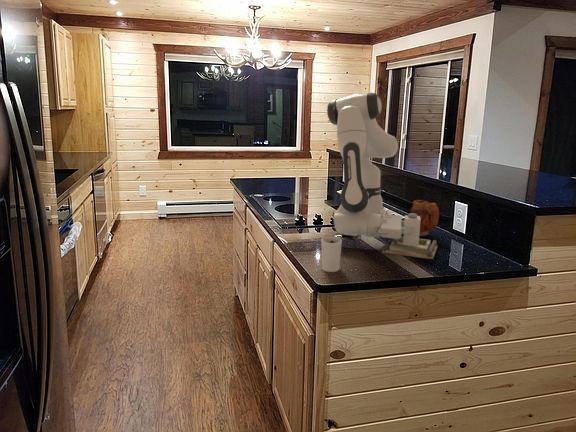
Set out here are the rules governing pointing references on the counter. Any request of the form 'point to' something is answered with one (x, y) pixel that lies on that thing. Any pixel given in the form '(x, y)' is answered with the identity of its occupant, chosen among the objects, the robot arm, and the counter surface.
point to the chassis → (411, 248)
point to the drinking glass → (331, 253)
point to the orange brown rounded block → (426, 215)
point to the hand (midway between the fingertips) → (414, 228)
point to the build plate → (347, 235)
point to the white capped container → (412, 222)
